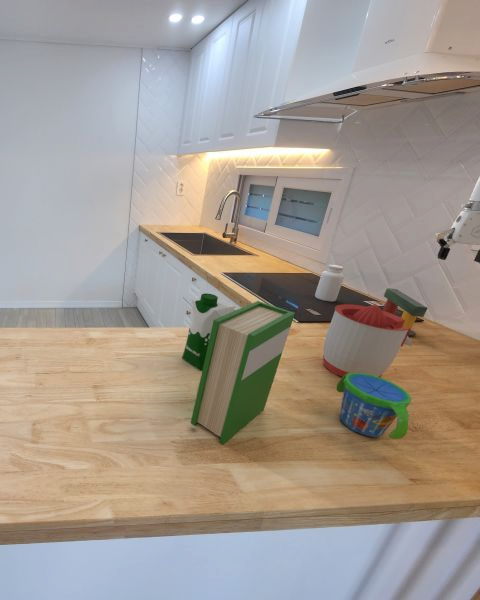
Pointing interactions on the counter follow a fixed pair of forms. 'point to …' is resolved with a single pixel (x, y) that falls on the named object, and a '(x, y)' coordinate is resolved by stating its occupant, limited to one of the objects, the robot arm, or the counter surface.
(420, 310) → the bar
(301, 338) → the counter surface
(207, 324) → the milk carton
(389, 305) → the red post
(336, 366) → the citrus juicer
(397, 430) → the snack cup
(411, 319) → the mustard post
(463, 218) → the robot arm
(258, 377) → the hardback book
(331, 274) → the pill bottle
